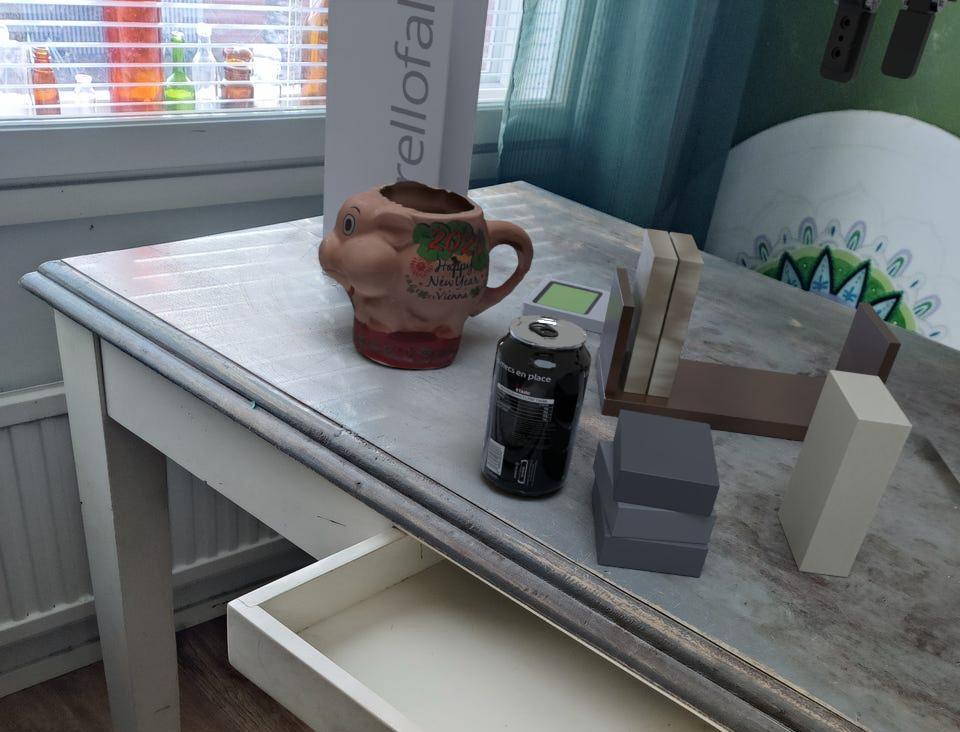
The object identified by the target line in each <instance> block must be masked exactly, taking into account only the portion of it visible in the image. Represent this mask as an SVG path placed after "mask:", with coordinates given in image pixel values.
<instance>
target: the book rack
mask: <svg viewBox="0 0 960 732" xmlns="http://www.w3.org/2000/svg"><path fill="white" fill-rule="evenodd" d="M639 252H640V253H639V257H638V261H637V266H636V271H635V277H634V280H633V285H632V289H631V284H630V280H629V276H628V272H627V269H626V268H620V267H615V269H614V274H613V277H612V284H611V287H610V291H611V292H610V297H609V302H608V307H607V312H606V317H605V322H604V326H603V331H602V334H601V336H600V342H599V345H598V347H597V349H596V355H595V359H594V364H595V372H596V380H597V388H598V395H599V405H600V412H601V415H605V416H612V417H619V413H620V410H627V411H633V412H639V413H645V414H651V415H657V416H664V417H670V418H676V419H682V420H688V421H694V422H700V423H706V424H710V430H716V431H717V430H718V431H724V432H731V433H739V434H747V435H754V436H760V437H767V438H777V439H784V440H792V441H798V442H804V439H805V436H806V434H807V431H808V428H809V425H810V423H811V420H812V417H813V414H814V411H815V409H816V406H817V403H818V400H819V398H820V395H821V392H822V389H823V386H824V384H825V381H826V378H824V377H818V376H810V375H803V374H795V373H789V372H788V373H787V372H783V371H782V372H781V371H775V370H768V369H767V370H766V369H759V368H753V367H745V366H737V365H731V364H724V363H716V362H708V361H700V360H694V359H687V358H681V355H682V350H683V347H684V342H685V340H686V335H687V331H688V327H689V323H690V319H691V316H692V312H693V307H694V305H695V300H696V296H697V292H698V290H699V289H698V288H699V285H700V282H701V276H702V273H703V270H704V266H705V262H704V260H703V257H702V255H701V253H700V251H699V248H698V246H697V244H696V241H695V239H694V237H693V234H688V233H680V232H674V231H670V232H668V231H667V230H658V229H652V228H645V229H644V234H643V238H642V243H641V247H640V251H639ZM901 346H902V343H901V342H900V340H899V339H898V338H897V337H896V335H895V334H894V332H893V331H892V330H891V329H890V327H889V326H888V325H887V324H886V322H885V321H884V320H883V318H882V317H881V316H880V315H879V313H878V312H877V311H876V309H875V308H874V307H873V306H872V305H871V303H869V302H862V301H859V303H858V305H857V308H856V311H855V314H854V317H853V320H852V321H851V324H850V328H849V330H848V333H847V335H846V339H845V341H844V344H843V347H842V349H841V352H840V355H839V358H838V360H837V363H836V365H835V368H834V370H835V371H843V372H850V373H857V374H864V375H872V376H878V377H879V378H880V379H881V381H882V382H883V384H884V385H885V386H886V383H887V381H888V378H889V376H890V374H891V371H892V369H893V366H894V364H895V361H896V358H897V357H898V353H899V352H900V348H901Z"/></svg>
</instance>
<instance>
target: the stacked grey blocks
mask: <svg viewBox="0 0 960 732" xmlns="http://www.w3.org/2000/svg"><path fill="white" fill-rule="evenodd" d="M617 417H618V418H617V421H616V422H617V423H616V426H615V431H614V435H613V440H607V439H605V440H604V439H598V442H597V447H596V451H595V456H594V459H593V460H594V461H593V464H592V470H593V473H594V479H593V485H592V489H591V500H592V501H591V502H592V503H591V504H592V511H593V512H592V513H593V524H594V533H595V544H596V545H595V546H596V554H597V564H598V565H600V566H610V567H617V568H622V569H623V568H624V569H631V570H641V571H646V572H647V571H648V572H654V573H655V572H656V573H662V574H663V573H664V574H671V575H679V576H686V577H693V578H694V577H695V578H700V577H701V575H702V571H703V568H704V565H705V562H706V559H707V555H708V552H709V546H708V544H709V543H710V538H711V535H712V532H713V529H714V526H715V523H716V520H717V516H718V514H717V512H716V509H715V503H716V500H717V497H718V495H719V490H720V488H721V485H720V484H721V483H720V477H719V472H718V468H717V460H716V457H715V456H716V455H715V454H716V453H715V448H714V443H713V436H712V431H711V430H712V429H710V424H706V423H700V422H694V421H688V420H682V419H676V418H670V417H664V416H657V415H651V414H645V413H639V412H633V411H627V410H620V413H619V416H617Z"/></svg>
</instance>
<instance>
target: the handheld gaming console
mask: <svg viewBox="0 0 960 732" xmlns="http://www.w3.org/2000/svg"><path fill="white" fill-rule="evenodd" d="M610 292H611V290H606V289H602V288H597V287H594V286H593V287H592V286H588V285H584V284H580V283H575V282H572V281H567V280H562V279H559V278H553V277H544V278H543V279H542V280H541V281H540V282H539V283H538V285H537V286H536V287H535V288H534V289H533V290H532V291H531V292H530V293H529V295H527V296H526V298H525V299H524V300H523V301H522V308H521V314H522V316H529V315H540V316H549V317H555V318H559V319H563V320H566V321H569V322H571V323H573V324H576V325H577V326H579V327H580V328H582V329H583V330H584V331H589V332H593V333H596V334H600V335H602V331H603V326H604V322H605V317H606V312H607V307H608V302H609V297H610Z"/></svg>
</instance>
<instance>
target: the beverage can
mask: <svg viewBox="0 0 960 732" xmlns="http://www.w3.org/2000/svg"><path fill="white" fill-rule="evenodd" d="M587 338H588V335H587V332H586V330H584V329H582V328H580V327H579V326H577V325H576V324H573V323H571V322H569V321H566V320H563V319H559V318H555V317H549V316H540V315H529V316H526V315H521V316H518V317H515V318H513V319H511V320H510V321H509V323H508V332H507V333H506V334H504V335H503V336H502V337H501V338H500V339H499V340H498V342H497V345H496V350H495V355H494V363H493V369H492V377H491V384H490V391H489V398H488V404H487V405H488V406H487V413H486V419H485V420H486V421H485V427H484V435H483V442H482V450H481V457H480V468H481V471H482V473H483V474H484V476H485V477H486V478H487V479H488V480H489V481H490V482H492V484H494V485H495V486H496V487H498V488H499V489H501V490H502V491H504V492H507V493H509V494H512V495H514V496H515V495H516V496H520V497H538V496H543V495H545V494H548V493H551V492H554V491H556V490H558V489H559V488H561V487H562V486H563V485H565V483H566V482H567V480H568V476H569V472H570V469H571V468H570V467H571V463H572V459H573V455H574V449H575V445H576V441H577V440H576V439H577V435H578V430H579V425H580V420H581V414H582V410H583V405H584V400H585V395H586V390H587V386H588V381H589V376H590V371H591V365H592V355H591V353H590V351H589V349H588V348H587V347H586V346H587V345H586V343H587V340H588V339H587Z"/></svg>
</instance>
